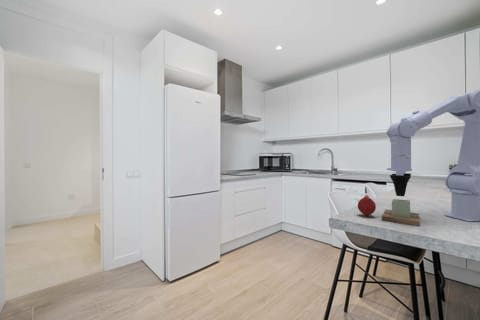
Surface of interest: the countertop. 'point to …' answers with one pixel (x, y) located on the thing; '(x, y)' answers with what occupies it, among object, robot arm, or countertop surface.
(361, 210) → the onion
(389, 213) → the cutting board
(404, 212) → the cube
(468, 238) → the countertop surface
